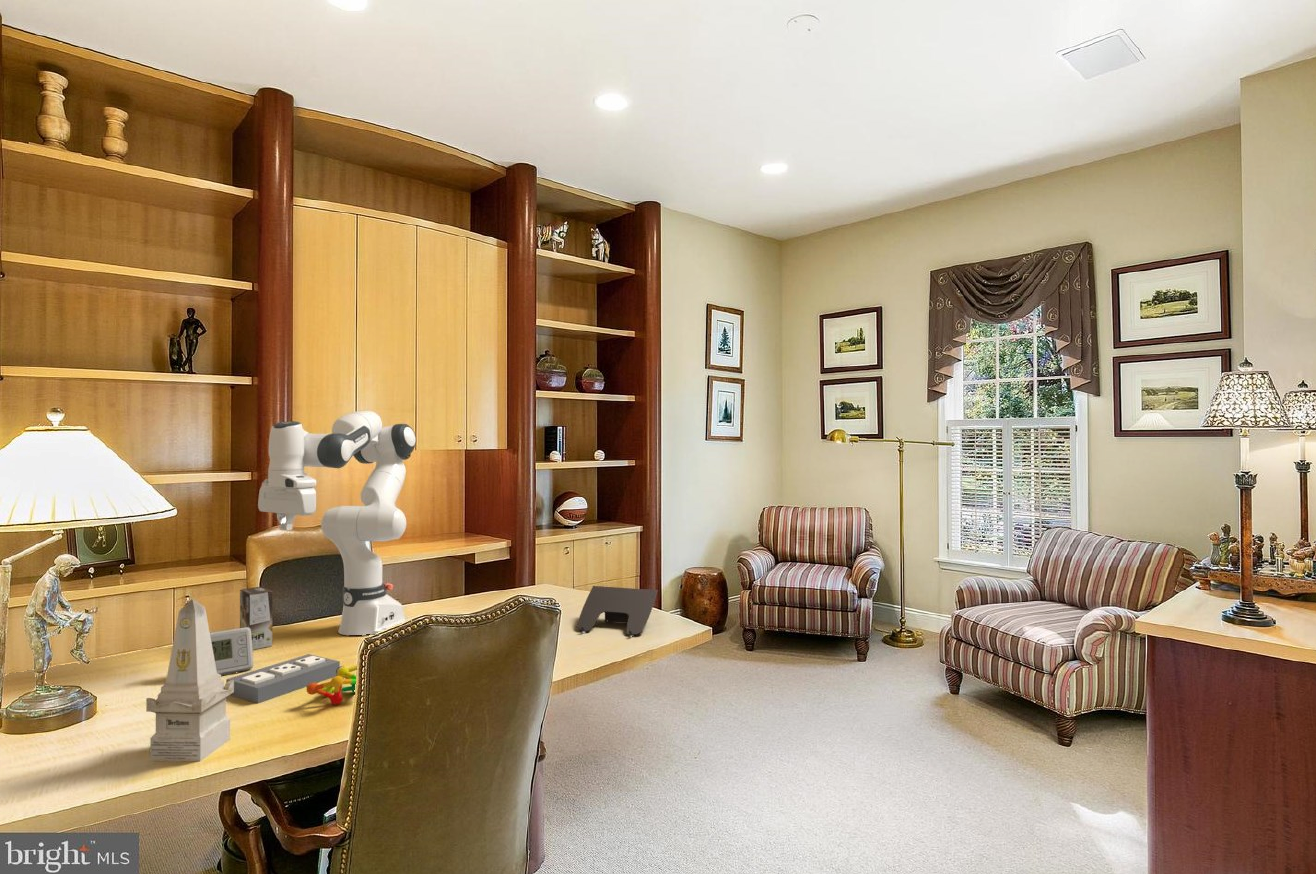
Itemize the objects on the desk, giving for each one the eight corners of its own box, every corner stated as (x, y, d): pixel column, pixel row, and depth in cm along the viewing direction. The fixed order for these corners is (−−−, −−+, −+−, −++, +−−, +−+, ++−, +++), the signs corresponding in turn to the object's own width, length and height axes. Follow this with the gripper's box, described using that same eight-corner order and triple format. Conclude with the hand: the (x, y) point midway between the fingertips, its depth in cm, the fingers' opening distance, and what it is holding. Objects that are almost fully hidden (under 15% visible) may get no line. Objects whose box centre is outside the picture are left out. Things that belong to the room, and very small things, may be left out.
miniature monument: (146, 761, 136) (146, 604, 136) (182, 738, 147) (183, 592, 146) (201, 762, 136) (202, 605, 136) (233, 738, 147) (234, 592, 146)
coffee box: (273, 646, 208) (273, 591, 208) (249, 651, 203) (249, 594, 203) (262, 639, 214) (262, 585, 214) (238, 644, 209) (238, 589, 209)
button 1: (261, 683, 175) (261, 671, 175) (274, 687, 173) (274, 674, 173) (241, 690, 170) (241, 677, 170) (254, 694, 168) (254, 680, 168)
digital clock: (177, 684, 177) (178, 641, 176) (180, 673, 184) (181, 632, 184) (253, 674, 185) (253, 633, 185) (253, 664, 192) (253, 624, 192)
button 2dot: (312, 667, 187) (312, 655, 187) (325, 670, 185) (325, 658, 185) (295, 672, 183) (295, 660, 183) (308, 676, 181) (308, 663, 181)
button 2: (287, 675, 181) (287, 662, 181) (300, 678, 179) (300, 666, 179) (269, 681, 177) (269, 668, 177) (282, 684, 174) (282, 672, 174)
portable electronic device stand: (574, 649, 229) (570, 626, 225) (595, 601, 249) (592, 580, 245) (644, 655, 224) (641, 632, 219) (660, 606, 243) (657, 585, 239)
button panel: (308, 667, 190) (308, 654, 190) (339, 674, 185) (339, 661, 185) (226, 693, 171) (226, 679, 171) (258, 703, 165) (258, 688, 165)
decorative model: (293, 688, 165) (341, 652, 178) (308, 721, 166) (355, 684, 179) (333, 682, 159) (379, 646, 173) (348, 717, 161) (393, 679, 174)
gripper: (252, 478, 201) (251, 528, 201) (299, 482, 191) (299, 534, 192) (273, 477, 206) (272, 525, 207) (320, 480, 197) (320, 531, 197)
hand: (286, 529), depth 199 cm, fingers closed
